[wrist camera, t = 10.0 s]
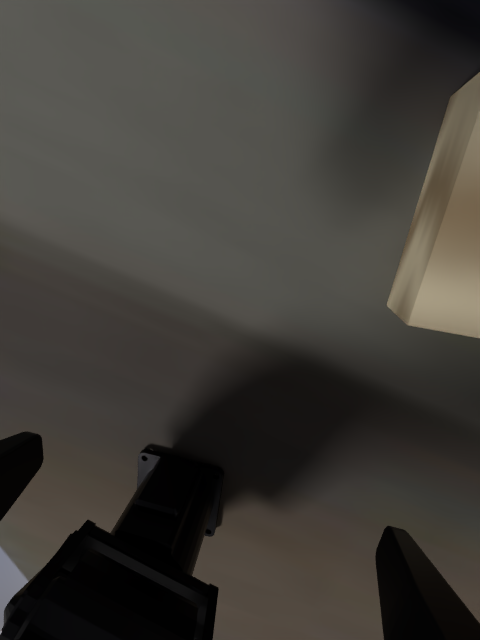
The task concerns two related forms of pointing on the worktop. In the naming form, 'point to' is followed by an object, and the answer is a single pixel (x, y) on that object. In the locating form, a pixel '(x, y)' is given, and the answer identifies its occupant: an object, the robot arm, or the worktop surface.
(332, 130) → the worktop surface
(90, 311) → the worktop surface
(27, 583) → the robot arm
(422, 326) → the birch block
